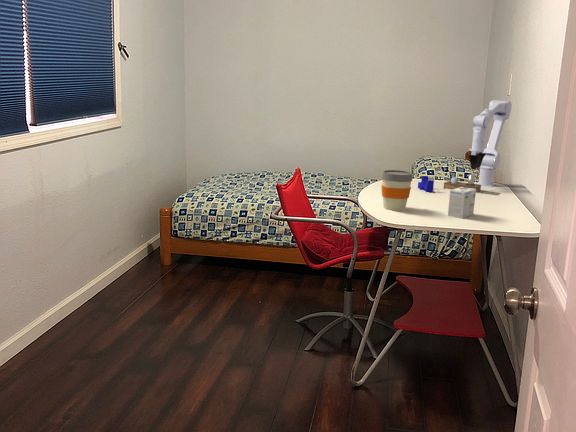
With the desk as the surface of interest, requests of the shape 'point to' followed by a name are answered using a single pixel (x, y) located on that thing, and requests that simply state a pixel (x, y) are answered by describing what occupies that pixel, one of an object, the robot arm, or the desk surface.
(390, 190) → the reusable coffee cup
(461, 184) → the walnut hole block
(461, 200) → the light bulb box
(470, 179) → the steel pin
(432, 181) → the blue stepped block
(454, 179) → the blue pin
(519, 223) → the desk surface
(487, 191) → the rubber mat
